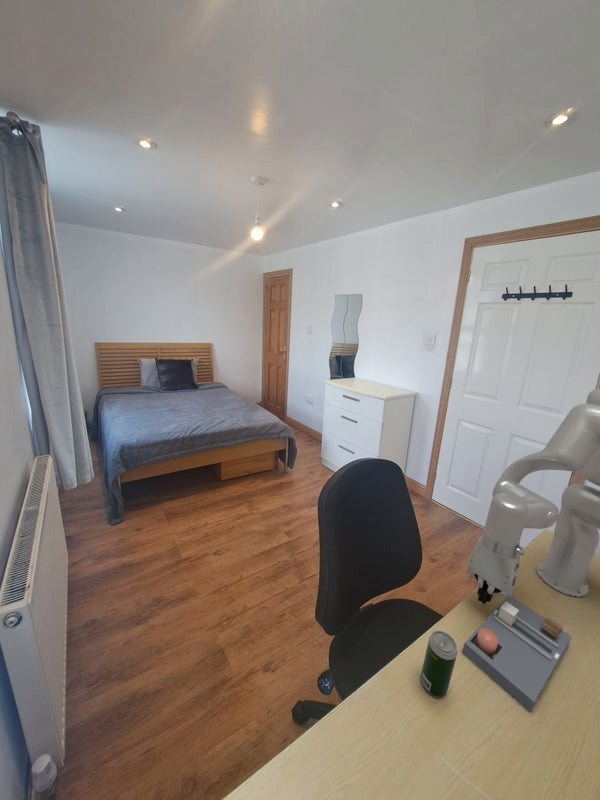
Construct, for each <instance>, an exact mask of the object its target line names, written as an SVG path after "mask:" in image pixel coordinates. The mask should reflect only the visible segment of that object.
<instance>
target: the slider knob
mask: <svg viewBox="0 0 600 800" xmlns="http://www.w3.org/2000/svg"><path fill="white" fill-rule="evenodd" d="M518 612H519V610H518V609H517V608H515V607H514V606H512V605H511V604H509V603H508V602H505V603H504V604H503V605H502V606H501V608H500V611H499V615H498V617H499V618H500V619H501V620H503V621H504V622H506V623H507V624H508V625H510V626H512V624H513V623H514V622H515V621H516V618H517V615H518Z"/></svg>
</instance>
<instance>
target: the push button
mask: <svg viewBox="0 0 600 800" xmlns="http://www.w3.org/2000/svg"><path fill="white" fill-rule="evenodd" d="M498 641H499V640H498V637H497V635H496V634H495V633H494V632H493V631H491V630H490V629H488V628H480V629H479V632H478V635H477V639H476V641H475V646H477V647H478V648H479V649H480V650H481V651H483V652H484V653H485V654H486V655H487V656H489V657H493V656H494V655H496V654H495V651H496V648H497V645H498Z"/></svg>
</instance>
